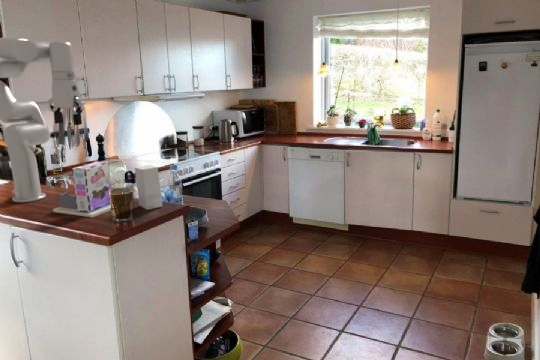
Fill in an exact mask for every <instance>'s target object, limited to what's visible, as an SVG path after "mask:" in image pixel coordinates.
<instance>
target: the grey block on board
mask: <svg viewBox="0 0 540 360" xmlns="http://www.w3.org/2000/svg"><path fill="white" fill-rule="evenodd" d="M68 194H69V192H64V193H59V195H58V198H59V199H58V200H59V207H56V208H53V209H52V211H53V213H57V214H59V213H60V214H66V215H72V216H82V217H87V218H95V217H97V216H100V215H102V214H105V213H108V212H110V211H112V210H111V205H110V204H108V205H106V206H103V207H101V208H98V209H96V210H94V211H92V212H81V211H77V205H76V196H73V195H68Z"/></svg>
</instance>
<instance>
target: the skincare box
mask: <svg viewBox="0 0 540 360" xmlns="http://www.w3.org/2000/svg"><path fill="white" fill-rule="evenodd" d="M134 173H135V179H136V188H137V197H138V204H139V207H140V208H141V207H142V208H143V209H145V210H154V209H157V208H162V207H163V200H162V192H161V185H160V176H159V169H158V166H155V165H151V164H146V165H142V166H136V167H134Z"/></svg>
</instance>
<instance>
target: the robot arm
mask: <svg viewBox="0 0 540 360" xmlns="http://www.w3.org/2000/svg"><path fill="white" fill-rule="evenodd" d="M72 46H73V45H72V43H71V42H69V41H63V40H62V41H61V40H60V41H59V40H57V41H56V40H55V41H51V40H50V41H49V40H48V41H47V40H29V39H28V38H22V37H6V36H5V37H0V79H7V78H8V79H9V78H10V79H11V78H12V79H13V78H20V77H22V76H23V75H24V74H25V72H26V71H27V69H28V68H29V66H30V64H32V63H50V69H51V70H50V71H51V78H52V81H51V98H50V99H48V101H47V102H48V104H49V106H50V109H51V110H52V111H51V112H52V113H53V120H54V124H63V123H64V122H63V121H64V119H63V112H62V110H63V109H68V110H70V109H71V111H72V112H73V114H72V119H73V125H74V126H80V125H82V124H83V122H82V121H83V119H82V114H83V112H84V111H83V110H84V109H85V108H84V107H85V105H86V104H85V103H86V102H85V101H84V100H83V99H82V98H81V93H80V89H79V85H78V81H77V80H76V75H75V68H74V67H75V66H74V55H73V47H72ZM0 121H1V122H2V123H4V124H11V125H8V126H6V127H5V128H4V130H3V133H2V134H3V139H4V140H3V141H4V143H5V145H6V148H7V152H8V156H9V160H10V167H11V173H12V180H13V184H14V188H13V189H12V190H11V193H12V194H14V196H12V202H15V203H28V202H35V201H39V200H42V199H44V198H47V197H46V196H47V195H46V193H45V192H42V189H41V183H40V175H39V168H38V162H37V157H36V154H35V153H34V152H33V151H32V149H31V148H30V147H31V146H37V145H43V144H46V143H48V142H49V141H50V136H51V135H50V129H49V127H48V124H47V123H46V120H45V118H44V116H43V114H42V112H41V110H40V108H39V106H38V104H37V103H36V102H35V101H33V100H32V99H29V98H27V99H26V98H22V99H17V98H16V97H15V96H14V94H13V91H12V90H11V88H10V87H9V86H8V84H6V83H4V82H3V81H2V80H0Z"/></svg>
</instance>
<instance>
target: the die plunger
mask: <svg viewBox="0 0 540 360" xmlns="http://www.w3.org/2000/svg"><path fill="white" fill-rule="evenodd" d="M67 191H68V192H69V194H68V195H73V196H75V188H74V182H71V183H67Z"/></svg>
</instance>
